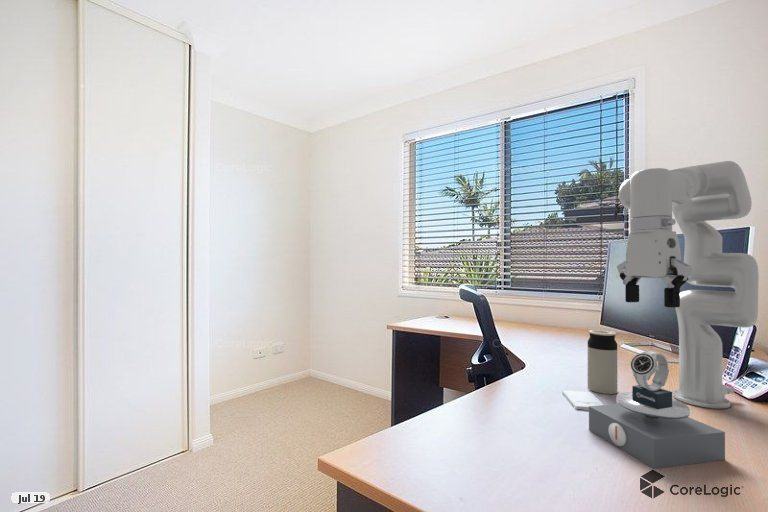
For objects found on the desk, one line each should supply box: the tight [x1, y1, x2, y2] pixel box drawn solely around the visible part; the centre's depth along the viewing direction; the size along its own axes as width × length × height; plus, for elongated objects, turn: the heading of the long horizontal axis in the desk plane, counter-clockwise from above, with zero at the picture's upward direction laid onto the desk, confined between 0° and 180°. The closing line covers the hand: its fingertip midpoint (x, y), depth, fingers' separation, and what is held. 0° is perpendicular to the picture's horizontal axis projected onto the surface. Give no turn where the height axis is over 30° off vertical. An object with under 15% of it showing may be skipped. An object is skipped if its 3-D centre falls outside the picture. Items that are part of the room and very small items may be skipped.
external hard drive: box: [561, 390, 605, 411], centre depth 107 cm, size 2×8×12 cm
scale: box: [588, 403, 726, 469], centre depth 82 cm, size 18×17×6 cm
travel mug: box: [587, 329, 618, 395], centre depth 117 cm, size 8×8×18 cm
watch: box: [630, 350, 673, 409], centre depth 82 cm, size 6×8×11 cm
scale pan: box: [615, 391, 691, 419], centre depth 83 cm, size 13×13×3 cm
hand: (651, 304), depth 83 cm, fingers open, 9 cm apart
